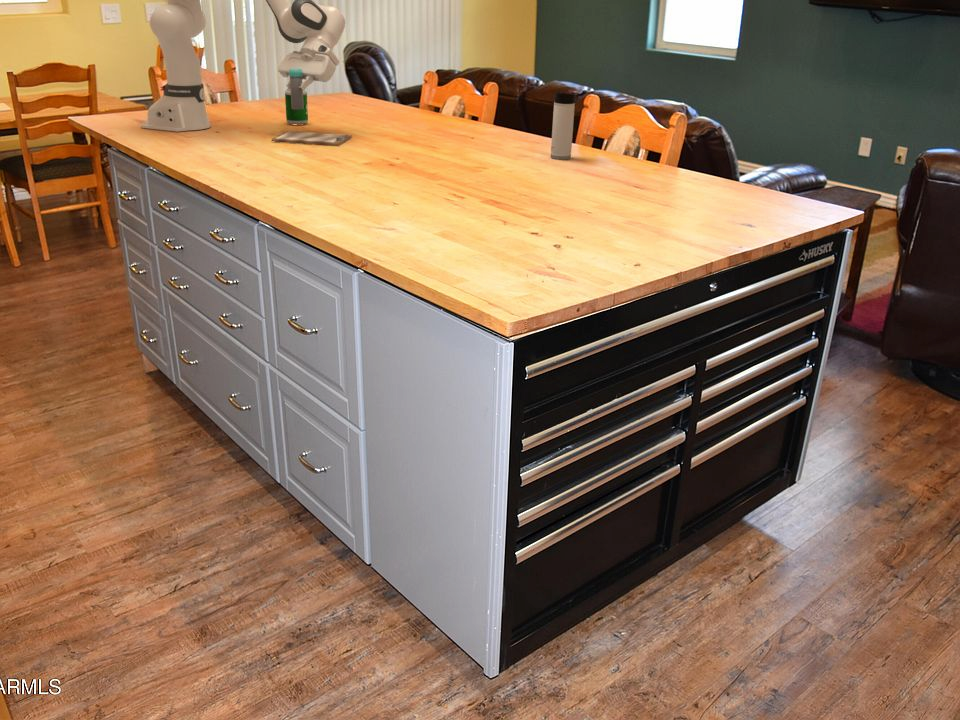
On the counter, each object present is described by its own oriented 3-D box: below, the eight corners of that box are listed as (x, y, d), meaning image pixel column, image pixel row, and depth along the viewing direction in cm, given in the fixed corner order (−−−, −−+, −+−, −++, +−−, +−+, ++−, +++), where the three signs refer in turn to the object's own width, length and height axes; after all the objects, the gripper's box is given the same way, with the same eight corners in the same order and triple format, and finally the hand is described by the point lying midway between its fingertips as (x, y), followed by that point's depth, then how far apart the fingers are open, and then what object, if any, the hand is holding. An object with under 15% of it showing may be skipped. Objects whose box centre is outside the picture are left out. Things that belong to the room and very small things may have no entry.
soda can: (306, 126, 314) (304, 90, 309) (284, 125, 314) (282, 89, 309) (310, 122, 321) (308, 87, 316) (289, 121, 321) (287, 87, 316)
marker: (289, 109, 286) (287, 69, 281) (293, 107, 289) (291, 68, 284) (301, 109, 285) (299, 70, 280) (305, 108, 289) (303, 68, 284)
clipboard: (271, 141, 287) (271, 136, 286) (287, 133, 301) (287, 128, 300) (338, 146, 284) (338, 140, 284) (351, 137, 298) (351, 132, 297)
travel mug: (546, 158, 278) (551, 91, 269) (555, 154, 283) (559, 89, 275) (565, 161, 275) (570, 93, 267) (573, 157, 280) (578, 91, 272)
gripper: (285, 44, 290) (265, 78, 287) (333, 48, 280) (313, 84, 276) (296, 57, 295) (277, 91, 292) (343, 62, 285) (324, 97, 282)
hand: (295, 88), depth 284 cm, fingers closed on marker, 4 cm apart
